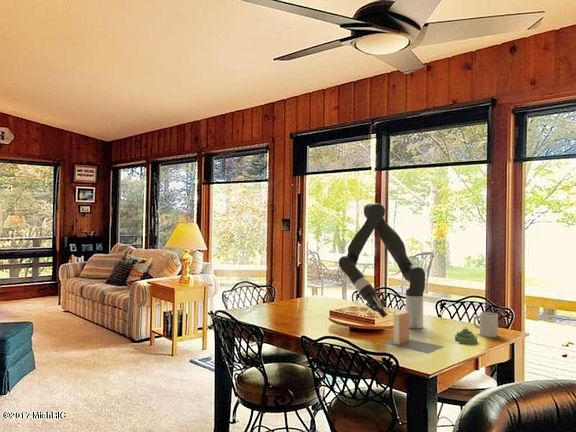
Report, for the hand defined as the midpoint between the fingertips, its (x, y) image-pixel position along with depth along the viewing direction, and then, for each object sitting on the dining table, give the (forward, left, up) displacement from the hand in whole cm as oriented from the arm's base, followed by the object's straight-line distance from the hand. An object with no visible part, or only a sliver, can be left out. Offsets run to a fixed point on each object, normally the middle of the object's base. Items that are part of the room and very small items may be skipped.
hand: (384, 316), depth 227 cm
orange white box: (+4, +8, -11) cm, 14 cm away
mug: (-24, +49, -12) cm, 56 cm away
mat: (+7, +13, -12) cm, 19 cm away
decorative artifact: (-8, +38, -12) cm, 41 cm away
